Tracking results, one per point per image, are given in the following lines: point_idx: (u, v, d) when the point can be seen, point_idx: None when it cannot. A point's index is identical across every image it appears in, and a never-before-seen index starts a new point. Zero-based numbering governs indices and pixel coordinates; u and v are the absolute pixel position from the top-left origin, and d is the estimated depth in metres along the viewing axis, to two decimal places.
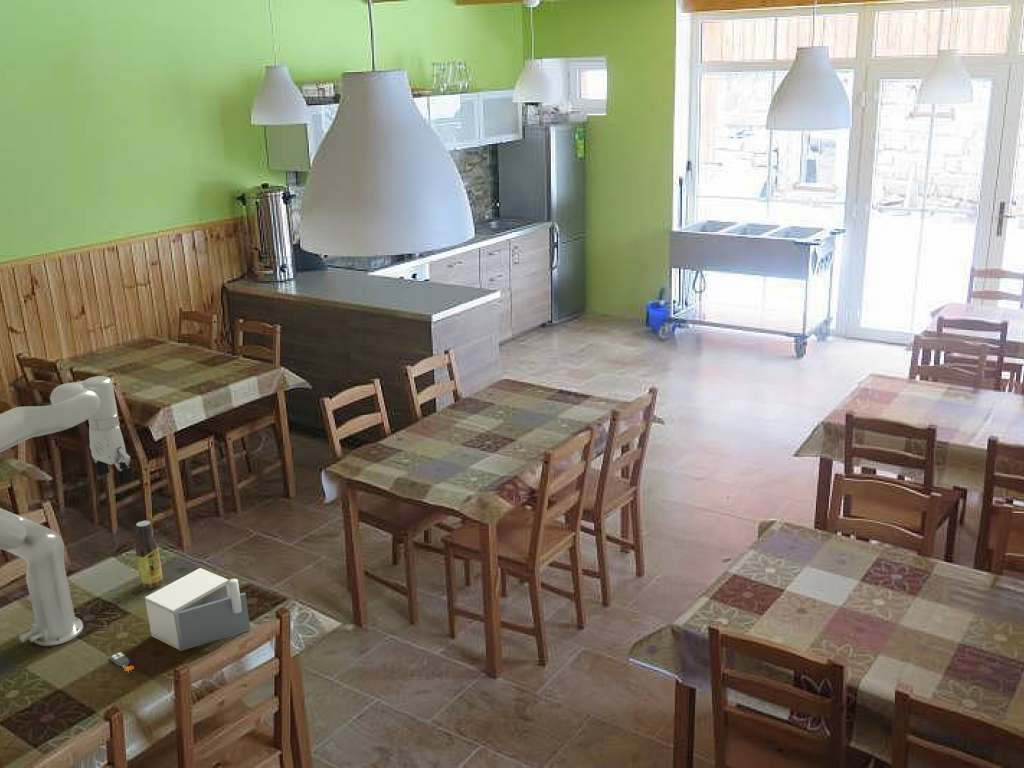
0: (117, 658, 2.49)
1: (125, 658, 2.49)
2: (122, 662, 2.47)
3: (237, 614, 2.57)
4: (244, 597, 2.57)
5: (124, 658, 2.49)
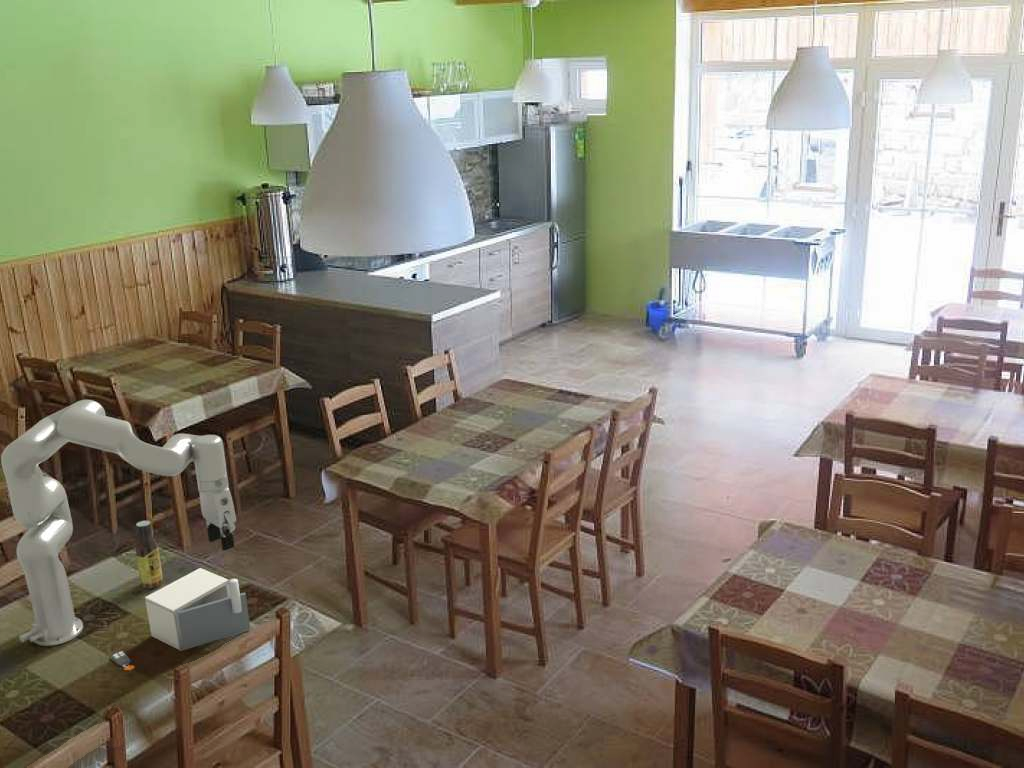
0: (118, 657, 2.49)
1: (126, 657, 2.49)
2: (122, 661, 2.47)
3: (237, 614, 2.57)
4: (244, 597, 2.57)
5: (125, 658, 2.49)
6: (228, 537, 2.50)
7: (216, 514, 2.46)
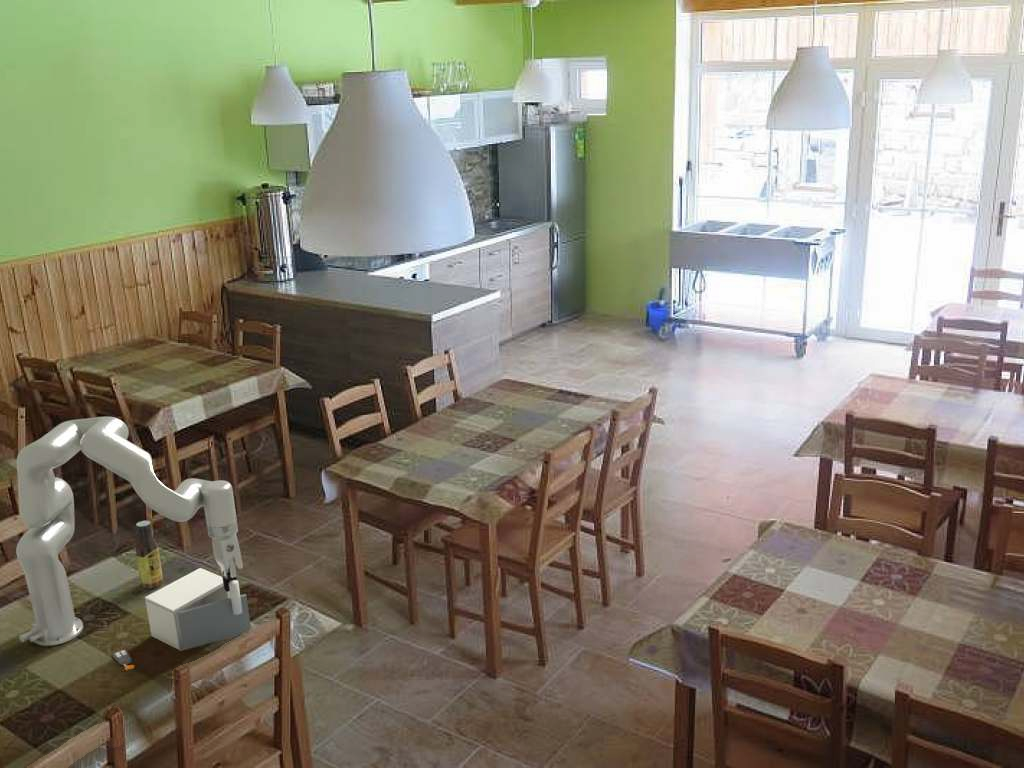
0: (120, 656, 2.49)
1: (127, 657, 2.49)
2: (123, 660, 2.48)
3: (238, 615, 2.56)
4: (245, 599, 2.56)
5: (126, 657, 2.49)
6: (230, 579, 2.53)
7: (222, 560, 2.48)
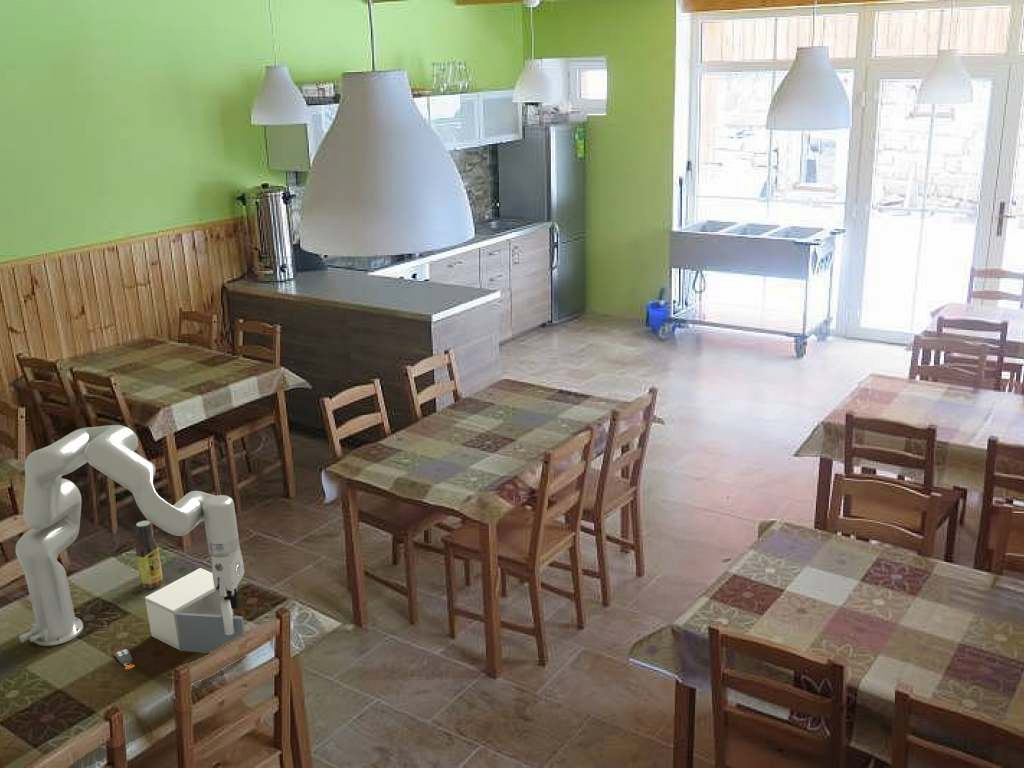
0: (121, 655, 2.50)
1: (128, 656, 2.50)
2: (124, 660, 2.48)
3: (233, 635, 2.47)
4: (239, 621, 2.46)
5: (128, 656, 2.49)
6: (228, 597, 2.45)
7: None
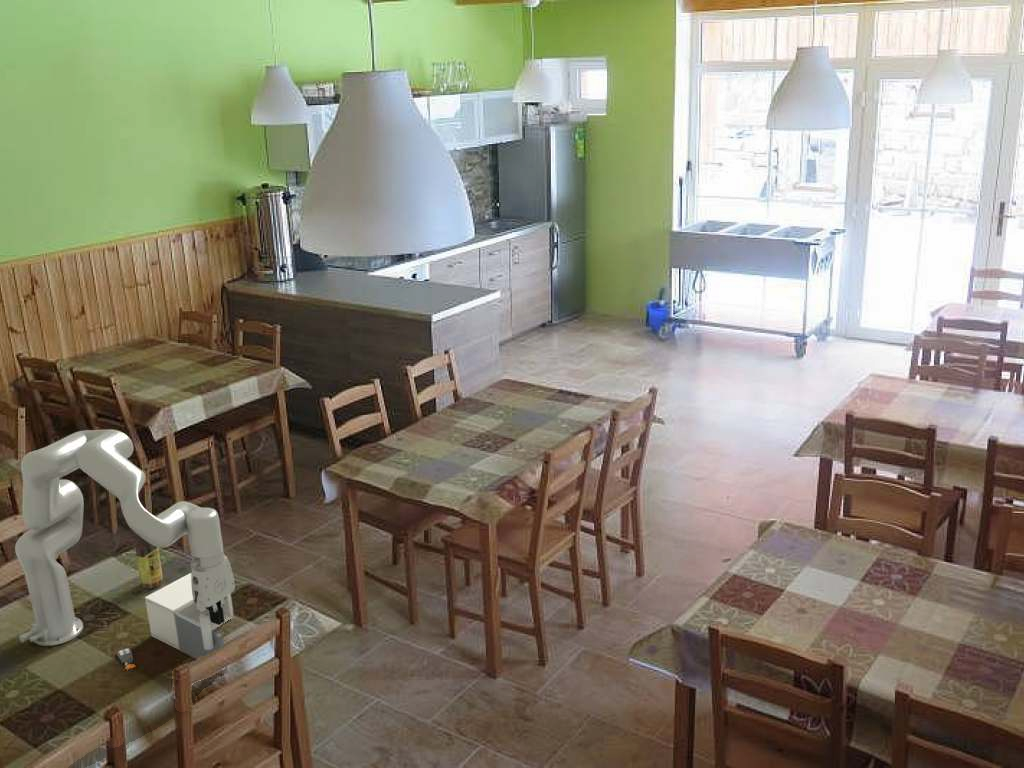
0: (122, 654, 2.50)
1: (130, 655, 2.50)
2: (125, 659, 2.48)
3: None
4: (218, 639, 2.38)
5: (129, 656, 2.50)
6: (211, 612, 2.39)
7: None
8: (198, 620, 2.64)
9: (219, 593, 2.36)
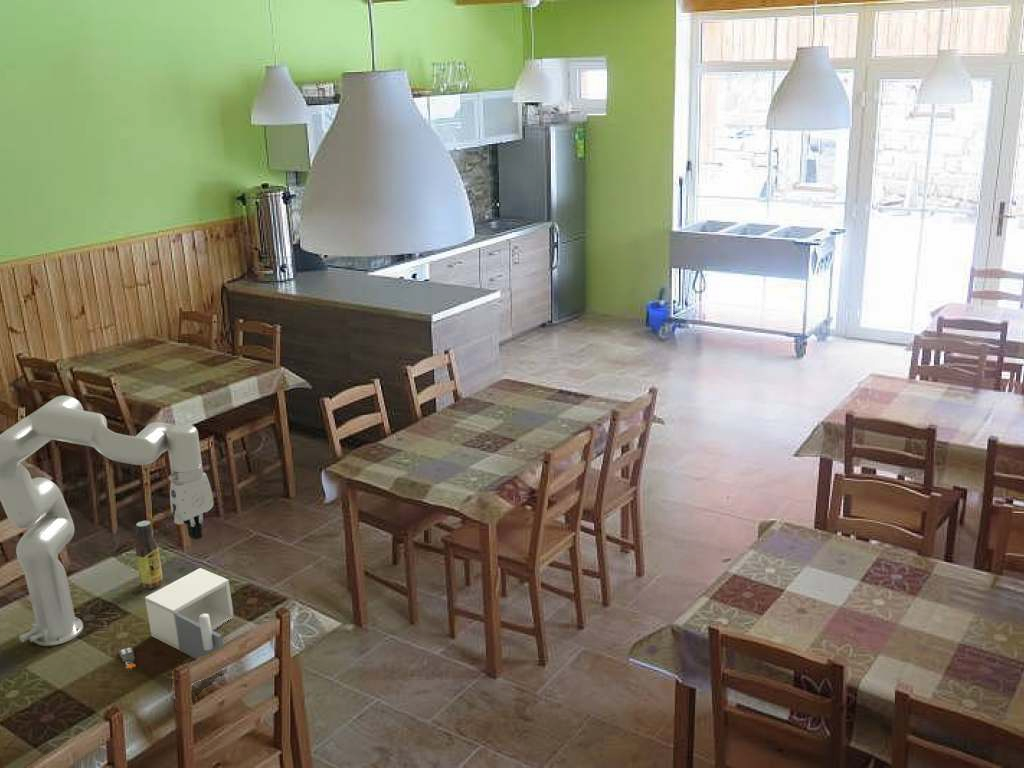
0: (124, 653, 2.50)
1: (131, 655, 2.50)
2: (127, 658, 2.49)
3: None
4: (217, 639, 2.38)
5: (130, 655, 2.50)
6: (189, 527, 2.48)
7: None
8: (198, 620, 2.64)
9: (196, 508, 2.45)
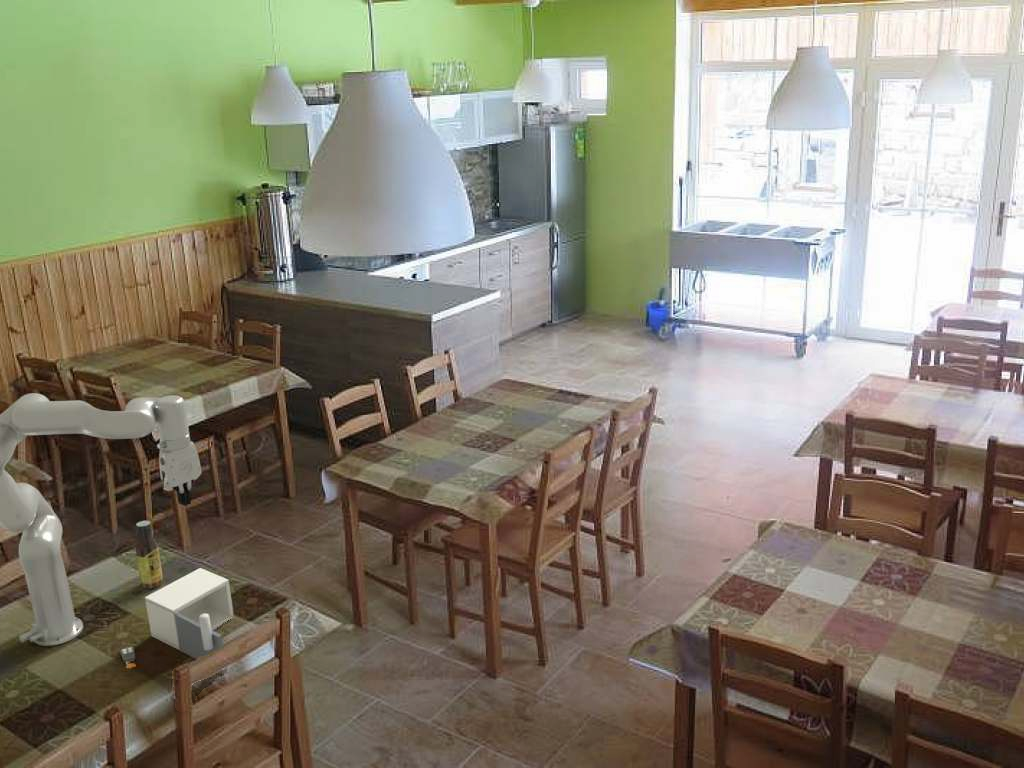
0: (125, 653, 2.51)
1: (132, 654, 2.50)
2: (127, 658, 2.49)
3: None
4: (217, 639, 2.38)
5: (131, 654, 2.50)
6: (178, 493, 2.60)
7: None
8: (198, 620, 2.64)
9: (185, 475, 2.57)
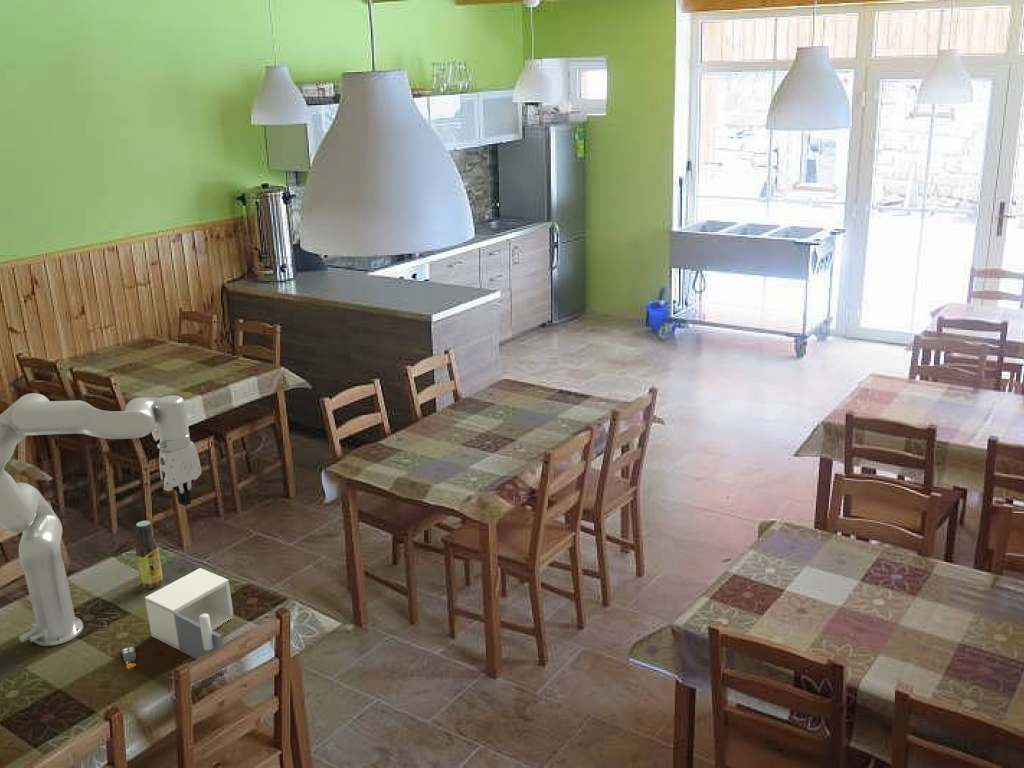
0: (126, 652, 2.51)
1: (133, 654, 2.50)
2: (128, 658, 2.49)
3: None
4: (217, 639, 2.38)
5: (132, 654, 2.50)
6: (178, 493, 2.60)
7: None
8: (198, 620, 2.64)
9: (185, 475, 2.57)
